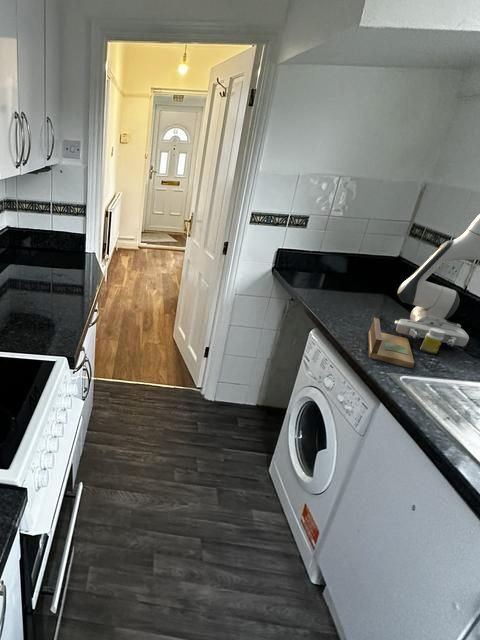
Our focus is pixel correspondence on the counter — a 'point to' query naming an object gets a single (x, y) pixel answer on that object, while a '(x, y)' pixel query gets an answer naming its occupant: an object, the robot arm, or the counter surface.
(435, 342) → the supplement bottle
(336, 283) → the counter surface
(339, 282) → the counter surface
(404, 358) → the oak shelf
